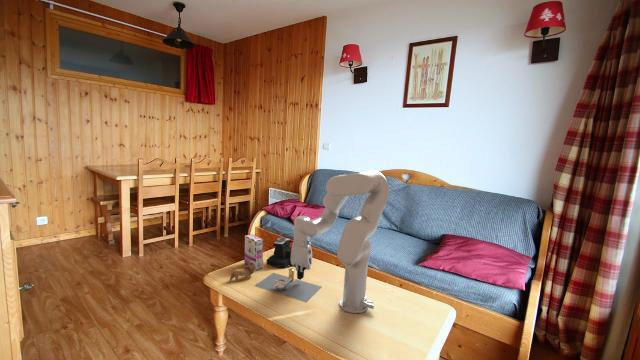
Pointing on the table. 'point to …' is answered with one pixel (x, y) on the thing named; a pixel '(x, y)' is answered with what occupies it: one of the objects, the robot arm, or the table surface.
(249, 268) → the lion figurine
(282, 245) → the camera
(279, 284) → the crank handle
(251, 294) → the table surface
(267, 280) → the base plate
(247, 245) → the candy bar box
